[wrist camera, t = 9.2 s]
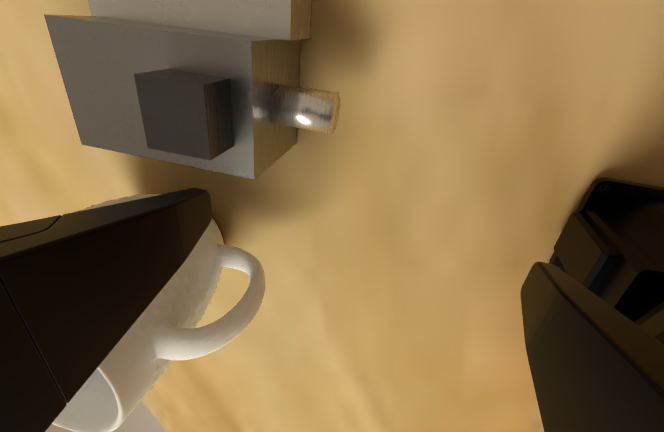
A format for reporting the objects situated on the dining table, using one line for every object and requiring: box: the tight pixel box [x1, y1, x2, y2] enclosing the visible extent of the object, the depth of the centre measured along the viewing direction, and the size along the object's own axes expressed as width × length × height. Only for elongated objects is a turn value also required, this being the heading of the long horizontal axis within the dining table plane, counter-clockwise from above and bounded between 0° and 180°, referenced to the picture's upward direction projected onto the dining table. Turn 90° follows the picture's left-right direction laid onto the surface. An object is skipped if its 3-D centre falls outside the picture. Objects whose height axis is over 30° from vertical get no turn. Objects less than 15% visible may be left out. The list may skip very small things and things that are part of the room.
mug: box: [52, 194, 265, 432], centre depth 22 cm, size 15×11×13 cm
